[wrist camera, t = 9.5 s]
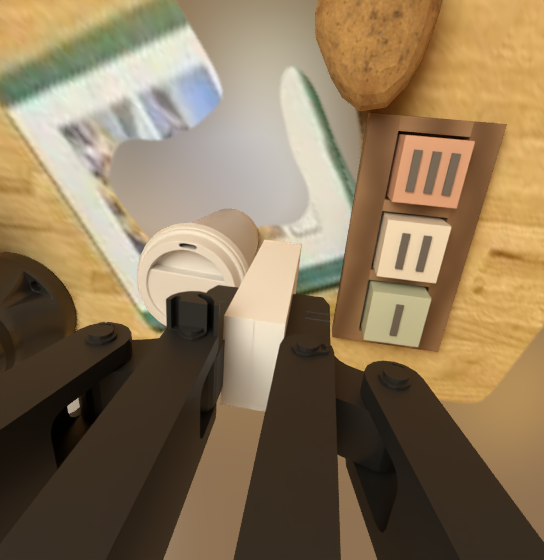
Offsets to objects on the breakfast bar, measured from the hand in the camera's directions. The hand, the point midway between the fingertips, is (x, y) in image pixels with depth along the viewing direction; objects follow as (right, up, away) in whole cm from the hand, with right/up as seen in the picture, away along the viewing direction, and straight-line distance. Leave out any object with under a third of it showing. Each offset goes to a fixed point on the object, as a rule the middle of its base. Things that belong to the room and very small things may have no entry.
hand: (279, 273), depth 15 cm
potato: (+9, +22, +18) cm, 30 cm away
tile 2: (+14, +4, +25) cm, 29 cm away
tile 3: (+14, +11, +22) cm, 28 cm away
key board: (+14, +4, +25) cm, 29 cm away
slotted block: (+13, -3, +28) cm, 31 cm away
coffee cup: (-5, +5, +28) cm, 29 cm away
